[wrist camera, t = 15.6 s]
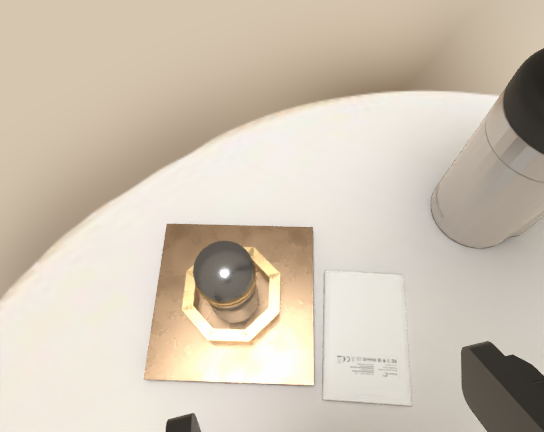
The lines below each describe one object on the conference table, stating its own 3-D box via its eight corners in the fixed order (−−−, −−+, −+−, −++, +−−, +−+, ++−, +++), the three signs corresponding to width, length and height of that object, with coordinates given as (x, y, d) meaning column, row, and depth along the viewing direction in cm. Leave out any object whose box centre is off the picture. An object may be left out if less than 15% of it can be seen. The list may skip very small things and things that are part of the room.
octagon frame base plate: (312, 230, 47) (314, 217, 44) (313, 385, 41) (315, 383, 37) (169, 227, 48) (161, 214, 45) (146, 379, 41) (135, 376, 38)
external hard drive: (400, 279, 45) (408, 406, 40) (323, 274, 46) (321, 400, 41) (404, 274, 44) (413, 406, 39) (324, 269, 44) (322, 399, 39)
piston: (260, 274, 44) (255, 239, 35) (259, 324, 42) (253, 300, 33) (211, 274, 44) (194, 238, 35) (207, 324, 42) (188, 299, 33)
